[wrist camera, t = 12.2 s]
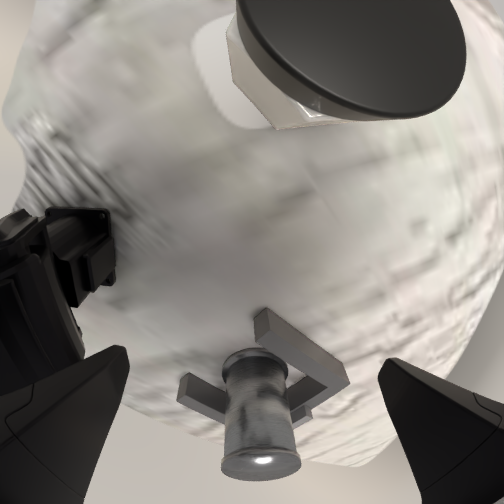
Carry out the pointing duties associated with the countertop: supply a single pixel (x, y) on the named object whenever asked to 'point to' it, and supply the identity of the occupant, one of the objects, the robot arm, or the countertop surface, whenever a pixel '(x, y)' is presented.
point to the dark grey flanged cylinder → (257, 418)
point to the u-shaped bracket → (291, 351)
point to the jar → (345, 59)
